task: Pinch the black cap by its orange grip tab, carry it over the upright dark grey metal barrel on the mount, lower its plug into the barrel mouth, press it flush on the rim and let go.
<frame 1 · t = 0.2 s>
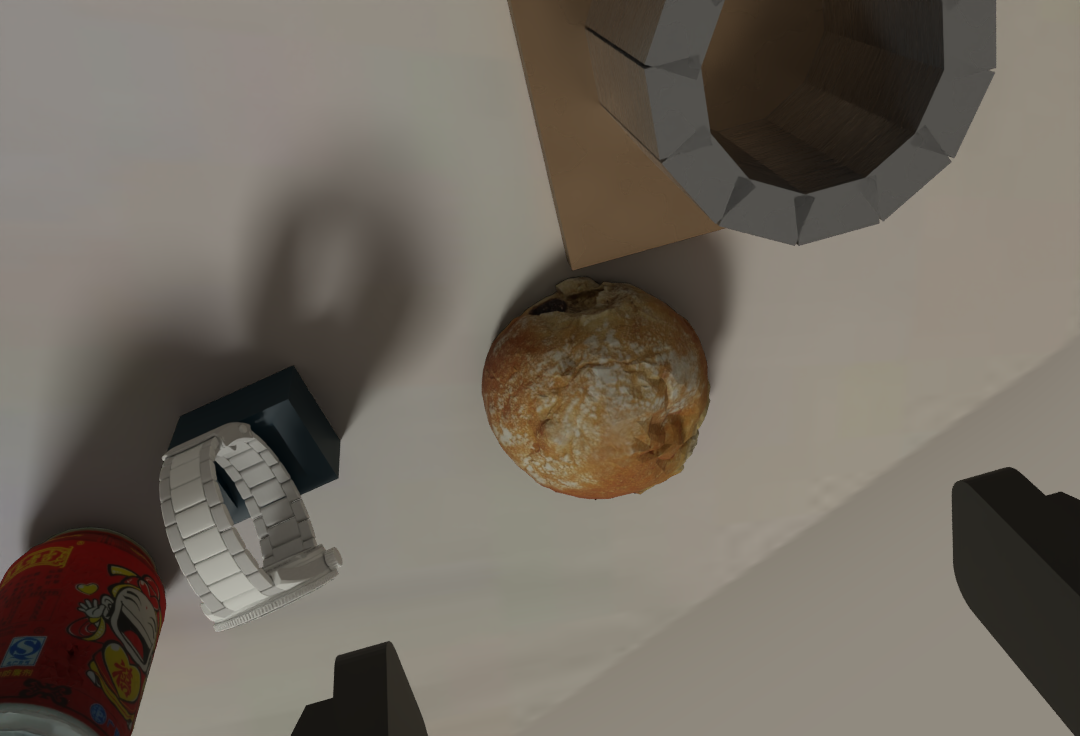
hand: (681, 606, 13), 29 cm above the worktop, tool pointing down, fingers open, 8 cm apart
bread roll: (593, 374, 45), on the worktop
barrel: (718, 24, 39), on the worktop
watch: (264, 428, 44), on the worktop
soda can: (95, 573, 46), on the worktop
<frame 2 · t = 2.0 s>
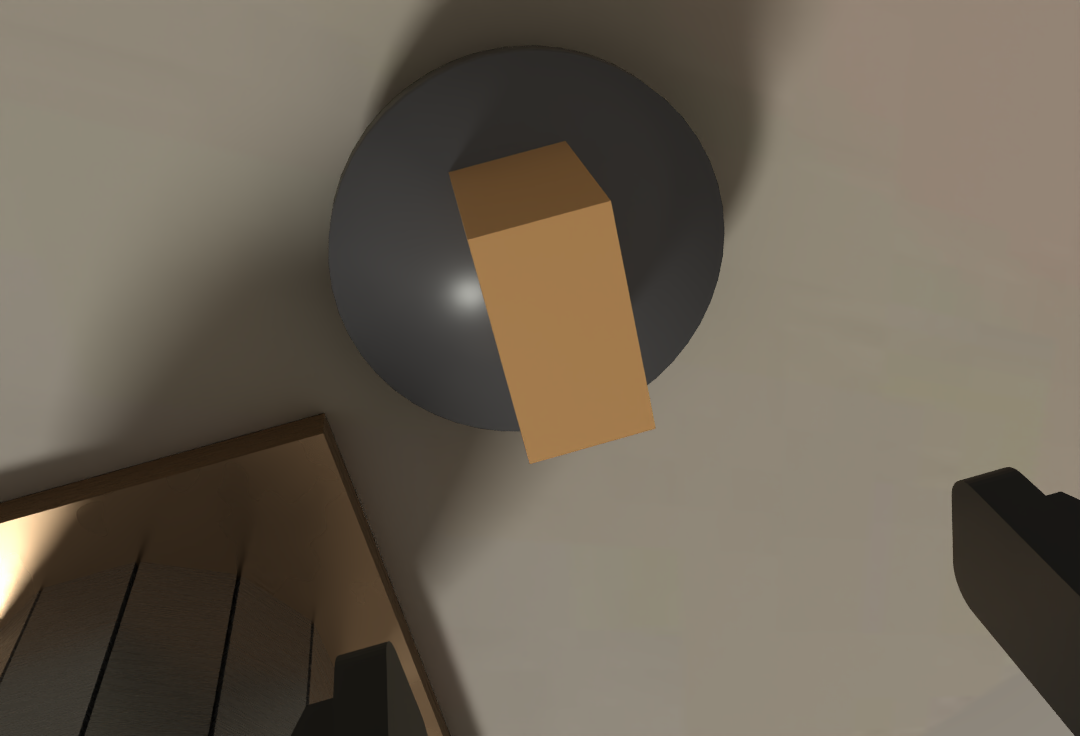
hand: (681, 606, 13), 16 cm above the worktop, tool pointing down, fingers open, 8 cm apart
cap: (518, 228, 27), on the worktop
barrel: (170, 674, 33), on the worktop
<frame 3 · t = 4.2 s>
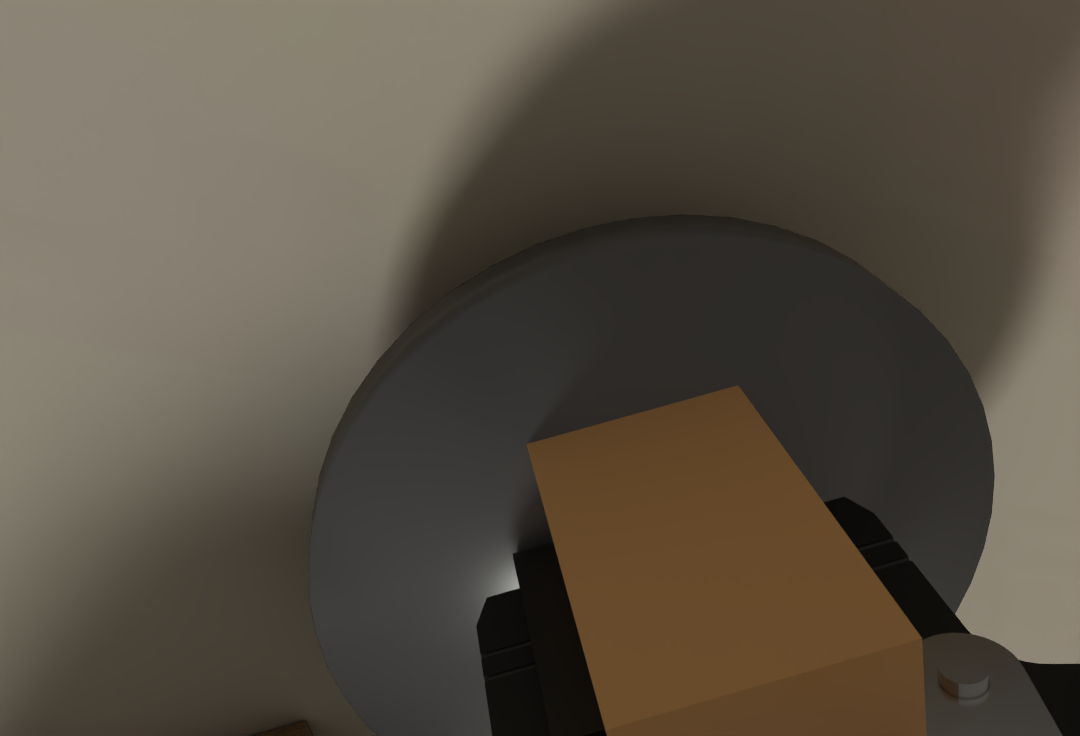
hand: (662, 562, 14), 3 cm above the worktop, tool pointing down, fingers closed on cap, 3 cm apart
cap: (626, 479, 17), on the worktop, touching gripper
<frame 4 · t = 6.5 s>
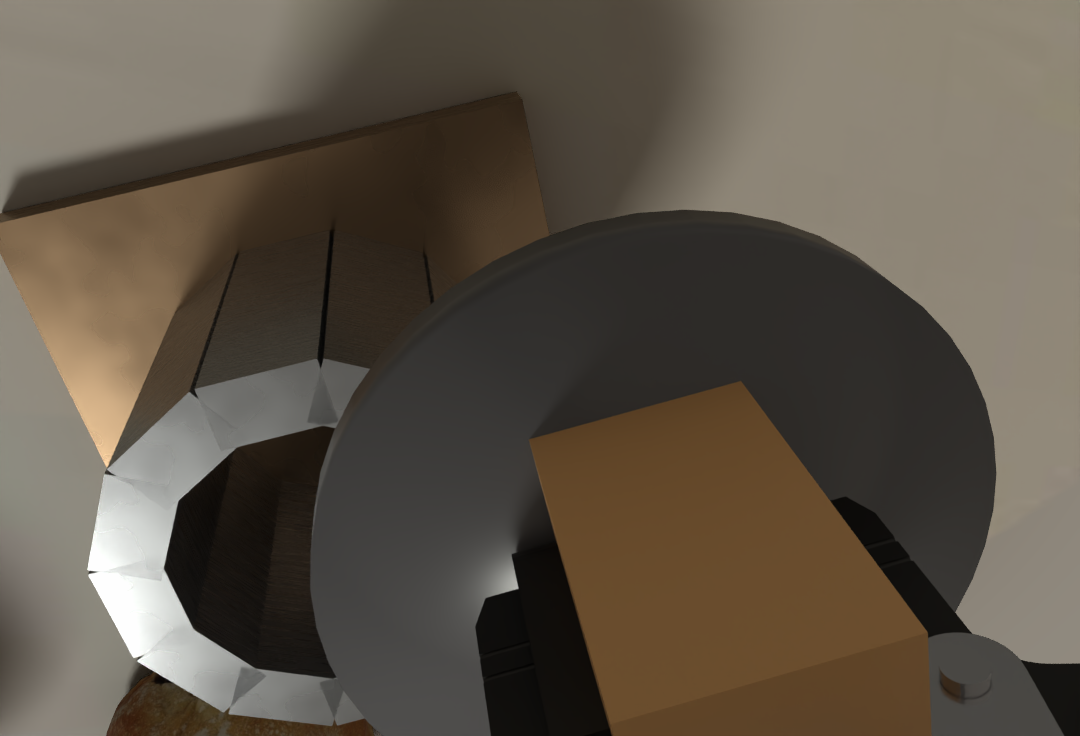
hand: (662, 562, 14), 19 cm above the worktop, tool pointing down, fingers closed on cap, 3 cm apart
cap: (627, 475, 17), point 17 cm above the worktop, touching gripper
bread roll: (257, 716, 40), on the worktop
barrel: (338, 376, 33), on the worktop
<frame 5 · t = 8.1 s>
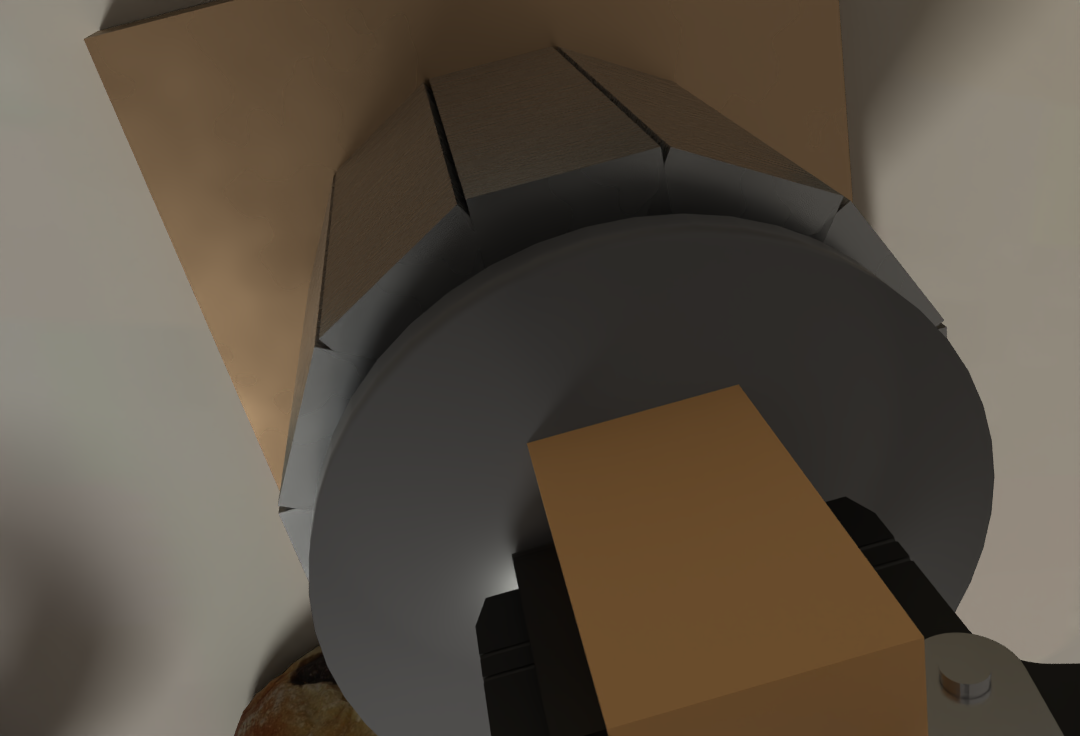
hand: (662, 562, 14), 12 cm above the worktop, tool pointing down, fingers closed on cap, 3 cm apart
cap: (625, 478, 17), point 10 cm above the worktop, touching gripper
bread roll: (407, 724, 32), on the worktop
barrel: (536, 268, 25), on the worktop
when the fingers open (12 cm above the worktop, at t = 9.2 s): cap stays where it is, resting on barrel.
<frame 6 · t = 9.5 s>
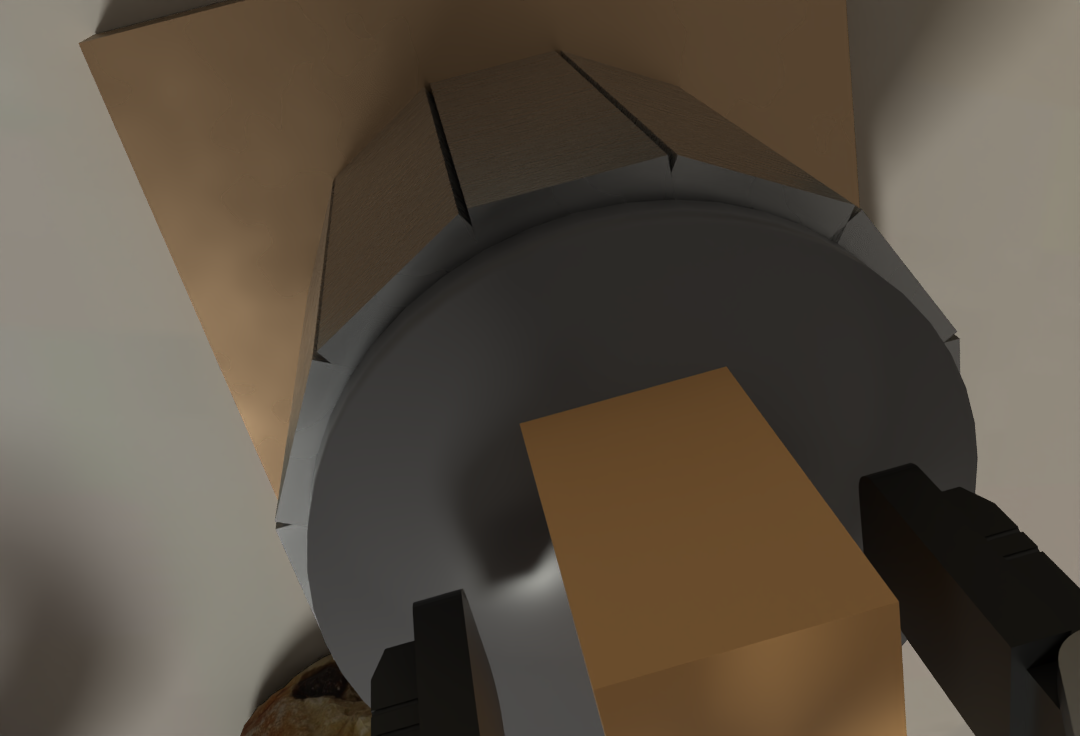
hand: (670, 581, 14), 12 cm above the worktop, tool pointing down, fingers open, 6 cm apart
cap: (618, 462, 17), point 9 cm above the worktop, touching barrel
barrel: (539, 275, 25), on the worktop
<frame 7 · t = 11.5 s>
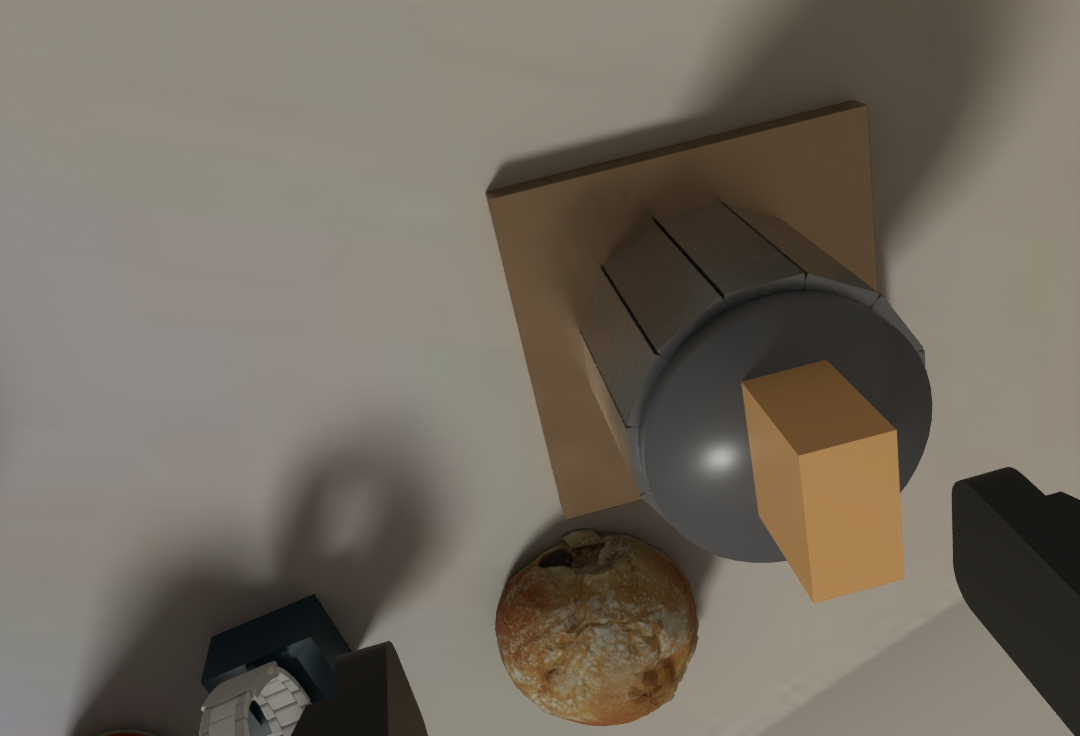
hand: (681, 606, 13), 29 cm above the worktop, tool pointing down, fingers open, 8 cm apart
cap: (765, 407, 36), point 9 cm above the worktop, touching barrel
bread roll: (594, 605, 51), on the worktop
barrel: (697, 317, 44), on the worktop
watch: (286, 644, 48), on the worktop
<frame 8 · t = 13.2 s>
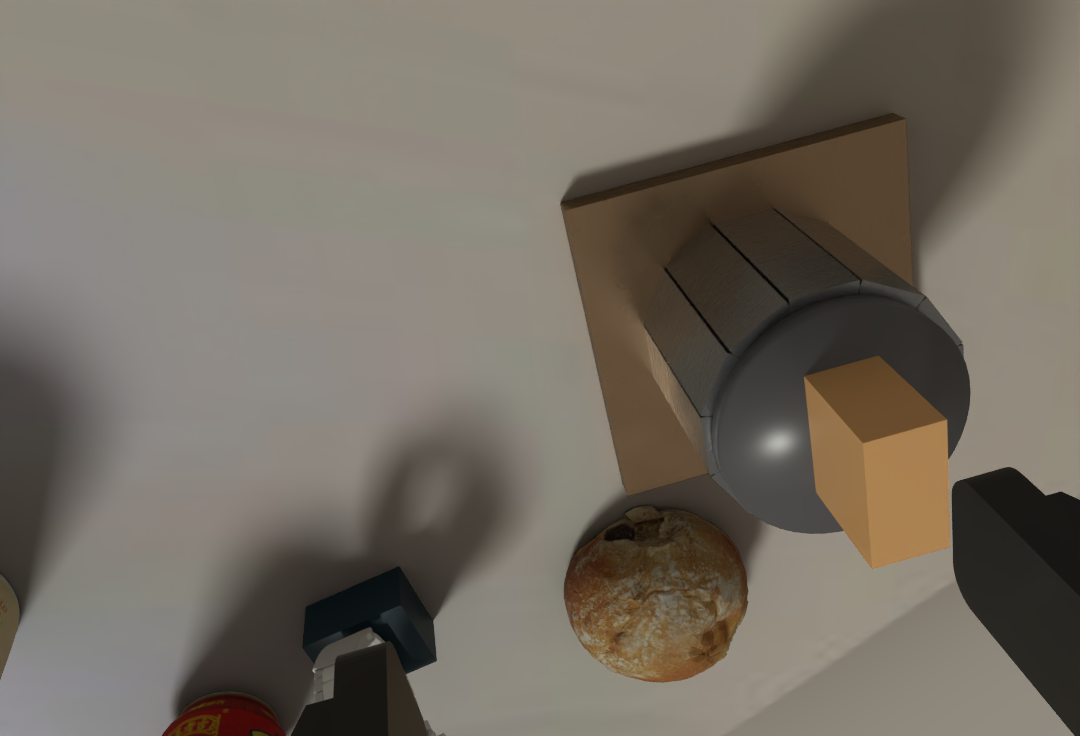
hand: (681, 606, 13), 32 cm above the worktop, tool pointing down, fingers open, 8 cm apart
cap: (820, 396, 41), point 9 cm above the worktop, touching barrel
bread roll: (651, 573, 55), on the worktop
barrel: (748, 311, 48), on the worktop
watch: (372, 612, 53), on the worktop
soda can: (228, 725, 55), on the worktop
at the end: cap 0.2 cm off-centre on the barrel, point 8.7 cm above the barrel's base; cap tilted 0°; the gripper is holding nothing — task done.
